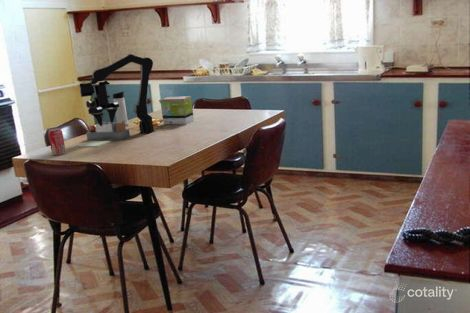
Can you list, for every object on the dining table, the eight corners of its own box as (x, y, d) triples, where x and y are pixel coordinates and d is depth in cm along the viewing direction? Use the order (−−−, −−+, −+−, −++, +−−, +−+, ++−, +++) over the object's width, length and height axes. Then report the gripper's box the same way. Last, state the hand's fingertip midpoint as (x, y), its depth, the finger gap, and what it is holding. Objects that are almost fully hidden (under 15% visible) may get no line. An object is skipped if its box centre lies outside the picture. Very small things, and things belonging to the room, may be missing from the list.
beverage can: (54, 153, 248) (49, 128, 245) (67, 152, 249) (62, 127, 246) (50, 156, 242) (46, 131, 239) (64, 155, 243) (59, 129, 240)
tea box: (163, 125, 296) (159, 99, 292) (171, 121, 305) (168, 96, 301) (186, 124, 290) (183, 98, 286) (194, 120, 299) (191, 95, 295)
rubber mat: (110, 142, 262) (110, 140, 262) (98, 146, 253) (98, 145, 253) (91, 142, 267) (91, 141, 267) (78, 146, 258) (78, 145, 258)
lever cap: (118, 129, 271) (116, 121, 270) (112, 131, 267) (111, 123, 266) (102, 130, 275) (101, 121, 274) (96, 132, 271) (95, 123, 270)
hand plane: (130, 136, 271) (127, 121, 269) (122, 139, 264) (119, 124, 262) (95, 137, 279) (93, 122, 277) (87, 140, 273) (84, 125, 271)
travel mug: (126, 126, 302) (121, 92, 297) (115, 127, 303) (110, 93, 298) (130, 124, 308) (125, 90, 303) (120, 125, 309) (115, 91, 304)
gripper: (100, 92, 278) (104, 120, 282) (77, 97, 261) (82, 128, 265) (117, 91, 273) (121, 120, 277) (95, 97, 257) (100, 128, 261)
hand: (106, 124), depth 270 cm, fingers open, 9 cm apart
